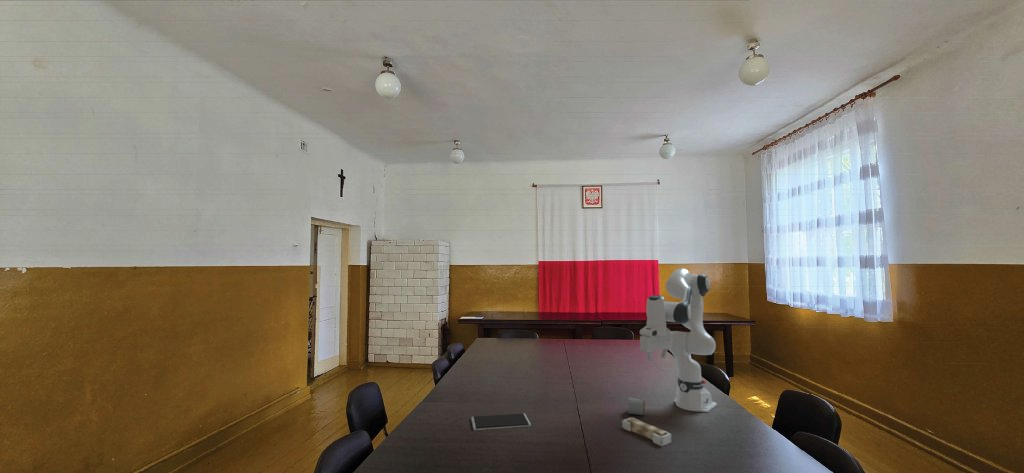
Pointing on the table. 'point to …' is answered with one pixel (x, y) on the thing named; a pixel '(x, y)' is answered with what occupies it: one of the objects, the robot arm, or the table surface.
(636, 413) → the ceramic mug
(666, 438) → the cap
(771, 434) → the table surface
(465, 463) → the table surface
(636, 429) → the tan wooden beam
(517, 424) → the smartphone
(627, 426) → the cap
